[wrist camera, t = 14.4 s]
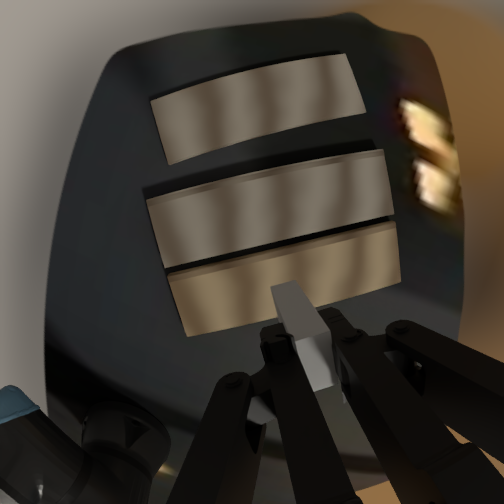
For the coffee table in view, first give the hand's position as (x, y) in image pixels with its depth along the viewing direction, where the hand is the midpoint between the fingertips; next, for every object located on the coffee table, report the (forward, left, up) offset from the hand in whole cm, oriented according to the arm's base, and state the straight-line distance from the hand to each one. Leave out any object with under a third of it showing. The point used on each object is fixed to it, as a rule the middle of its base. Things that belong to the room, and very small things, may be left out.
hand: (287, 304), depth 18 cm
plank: (+4, +16, -19) cm, 25 cm away
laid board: (+3, -5, -18) cm, 19 cm away
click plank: (+3, +4, -18) cm, 19 cm away
